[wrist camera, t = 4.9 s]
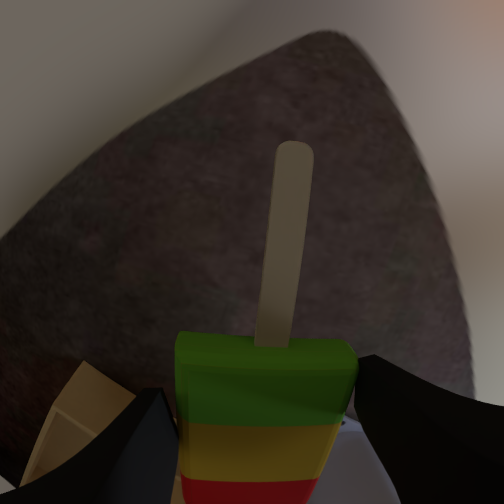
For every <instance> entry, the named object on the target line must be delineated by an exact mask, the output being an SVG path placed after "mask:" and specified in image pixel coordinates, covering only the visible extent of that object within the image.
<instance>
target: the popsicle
mask: <svg viewBox="0 0 504 504" xmlns="http://www.w3.org/2000/svg"><path fill="white" fill-rule="evenodd" d="M313 160H314V158H313V151H312V149H311V148H310V146H308V145H307V144H305V143H302V142H297V141H286V142H283V143H282V144H281V145H280V146H278V148H277V150H276V154H275V162H274V171H273V181H272V190H271V199H270V209H269V218H268V227H267V236H266V245H265V254H264V262H263V271H262V280H261V288H260V297H259V305H258V314H257V322H256V330H255V337H253V336H237V335H223V334H210V333H199V332H189V331H180V332H179V334H178V336H177V339H176V342H175V392H176V417H177V431H178V436H179V463H180V474H181V485H182V494H183V498H184V501H185V503H186V504H306V503H307V502H308V500H309V498H310V496H311V494H312V492H313V490H314V488H315V486H316V484H317V481H318V479H319V477H320V475H321V472H322V470H323V468H324V466H325V463H326V461H327V459H328V456H329V454H330V451H331V449H332V447H333V444H334V442H335V439H336V437H337V434H338V431H339V429H340V426H341V423H342V421H343V418H344V415H345V412H346V410H347V407H348V404H349V401H350V398H351V395H352V392H353V389H354V386H355V383H356V380H357V377H358V373H359V362H358V357H357V355H356V353H355V352H354V350H353V349H352V348H351V346H350V345H349V344H348V343H347V342H346V341H344V340H341V339H301V338H290V332H291V326H292V320H293V313H294V307H295V301H296V294H297V288H298V281H299V274H300V267H301V260H302V253H303V246H304V238H305V230H306V223H307V214H308V206H309V198H310V189H311V180H312V170H313Z"/></svg>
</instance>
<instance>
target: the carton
mask: <svg viewBox="0 0 504 504" xmlns="http://www.w3.org/2000/svg"><path fill="white" fill-rule="evenodd" d="M135 397H136V395H134V394H133V393H131V392H129V391H128V390H126V389H125V388H123V387H122V386H120V385H119V384H117V383H116V382H114V381H113V380H111V379H110V378H108V377H107V376H105V375H104V374H102V373H101V372H99V371H98V370H97V369H95V368H94V367H92V366H91V365H90V364H88V363H87V362H86V361H83V362H82V363H81V365H80V366H79V367H78V369H77V370H76V372H75V373H74V374H73V376H72V377H71V379H70V380H69V381H68V383H67V384H66V386H65V387H64V388H63V390H62V391H61V393H60V394H59V396H58V397H57V398H56V400H55V401H54V403H53V404H52V407H51V409H50V411H49V413H48V415H47V418H46V420H45V422H44V425H43V427H42V429H41V432H40V434H39V436H38V439H37V441H36V444H35V446H34V449H33V451H32V454H31V456H30V459H29V462H28V464H27V467H26V470H25V473H24V475H23V478H22V481H21V484H20V487H21V486H23V485H26V484H28V483H30V482H32V481H34V480H36V479H38V478H39V477H41V476H43V475H45V474H47V473H48V472H50V471H52V470H54V469H55V468H57V467H58V466H60V465H61V464H63V463H64V462H66V461H67V460H69V459H70V458H71V457H73V456H74V455H75V454H77V453H78V452H79V451H80V450H82V449H83V448H84V447H85V446H86V445H88V444H89V443H90V442H91V441H92V440H93V439H94V438H95V437H96V436H97V435H99V434H100V433H101V432H102V431H103V430H104V429H105V428H106V427H107V426H108V425H109V424H110V423H111V422H112V421H113V420H114V419H115V418H116V417H117V416H118V415H119V414H120V413H121V412H122V411H123V410H124V409H125V408H126V407H127V406H128V405H129V403H130V402H131V401H132V400H133V399H134V398H135ZM173 418H174V417H173ZM174 421H175V423H176V426H177V419H176V418H174ZM170 504H186V503H185V501H184V498H183V494H182V485H181V474H180V463H179V452H178V463H177V469H176V474H175V480H174V486H173V491H172V497H171V503H170Z"/></svg>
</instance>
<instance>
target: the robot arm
mask: <svg viewBox="0 0 504 504" xmlns="http://www.w3.org/2000/svg"><path fill="white" fill-rule="evenodd" d="M358 362H359V373H358V377H357V380H356V383H355V397H354V408H355V411H356V413H357V416H358V419H359V421H360V422H357V421H355V420H353V419H351V418H349V417H347V416H345V415H344V418H343V422H342V423H341V426H340V429H339V431H338V434H337V437H336V439H335V442H334V444H333V447H332V449H331V451H330V454H329V456H328V459H327V461H326V463H325V466H324V468H323V470H322V472H321V475H320V477H319V479H318V481H317V484H316V486H315V488H314V490H313V492H312V494H311V496H310V498H309V500H308V502H307V503H306V504H504V406H499V405H493V404H489V403H484V402H481V401H477V400H474V399H470V398H467V397H464V396H461V395H458V394H455V393H453V392H450V391H448V390H445V389H443V388H440V387H438V386H436V385H433V384H431V383H429V382H427V381H425V380H423V379H421V378H419V377H417V376H415V375H413V374H411V373H409V372H407V371H405V370H403V369H401V368H399V367H398V366H396V365H394V364H392V363H390V362H388V361H386V360H385V359H383V358H381V357H379V356H377V355H375V354H373V355H370V356H366V357H362V358H358ZM178 452H179V436H178V431H177V426H176V423H175V421H174V418H173V415H172V413H171V410H170V407H169V405H168V402H167V399H166V396H165V394H164V391H163V388H144V389H143V390H142V391H141V392H140V393H139V394H138V395H137V396H136V397H135V398H134V399H133V400H132V401H131V402H130V403H129V405H128V406H127V407H126V408H125V409H124V410H123V411H122V412H121V413H120V414H119V415H118V416H117V417H116V418H115V419H114V420H113V421H112V422H111V423H110V424H109V425H108V426H107V427H106V428H105V429H104V430H103V431H102V432H101V433H100V434H99V435H97V436H96V437H95V438H94V439H93V440H92V441H91V442H90V443H89V444H88V445H86V446H85V447H84V448H83V449H82V450H80V451H79V452H78V453H77V454H75V455H74V456H73V457H71V458H70V459H69V460H67V461H66V462H64V463H63V464H61V465H60V466H58V467H57V468H55V469H54V470H52V471H50V472H48V473H47V474H45V475H43V476H41V477H39V478H38V479H36V480H34V481H32V482H30V483H28V484H26V485H23V486H21V487H19V488H16V489H14V490H11V491H9V492H6V493H3V494H0V504H170V503H171V497H172V491H173V486H174V480H175V474H176V469H177V463H178Z"/></svg>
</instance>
